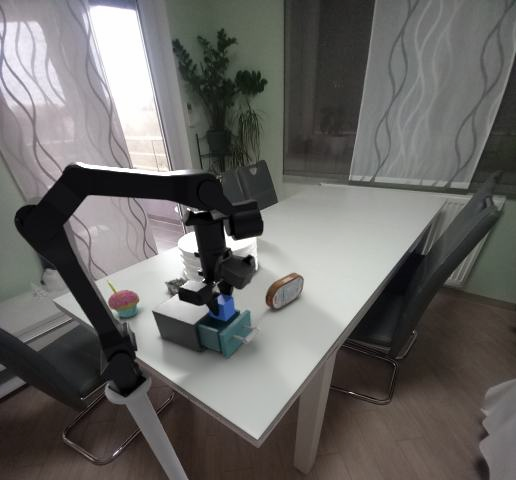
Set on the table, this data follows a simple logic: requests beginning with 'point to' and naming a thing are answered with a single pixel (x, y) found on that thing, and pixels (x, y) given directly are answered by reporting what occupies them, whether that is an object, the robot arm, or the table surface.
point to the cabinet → (180, 322)
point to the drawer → (226, 332)
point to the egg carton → (175, 285)
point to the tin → (284, 290)
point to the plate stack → (193, 263)
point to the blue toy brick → (224, 307)
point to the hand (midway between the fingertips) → (222, 311)
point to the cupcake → (123, 302)
